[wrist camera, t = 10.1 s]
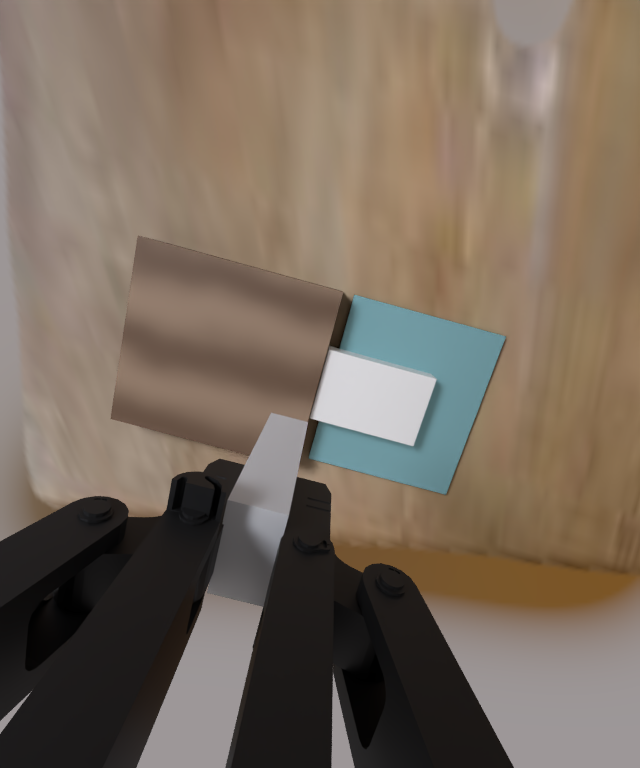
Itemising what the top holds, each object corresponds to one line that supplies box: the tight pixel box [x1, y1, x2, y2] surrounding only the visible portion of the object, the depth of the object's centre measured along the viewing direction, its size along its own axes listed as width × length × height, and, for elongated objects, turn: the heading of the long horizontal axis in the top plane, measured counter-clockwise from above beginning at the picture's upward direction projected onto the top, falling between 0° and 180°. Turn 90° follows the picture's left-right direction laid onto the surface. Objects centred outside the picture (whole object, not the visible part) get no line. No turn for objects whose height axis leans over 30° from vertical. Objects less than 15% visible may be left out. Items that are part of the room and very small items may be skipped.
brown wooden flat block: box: [111, 236, 343, 455], centre depth 34 cm, size 15×16×3 cm
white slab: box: [310, 346, 437, 446], centre depth 34 cm, size 6×9×2 cm, turn 75°
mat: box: [309, 295, 506, 495], centre depth 36 cm, size 15×13×1 cm
